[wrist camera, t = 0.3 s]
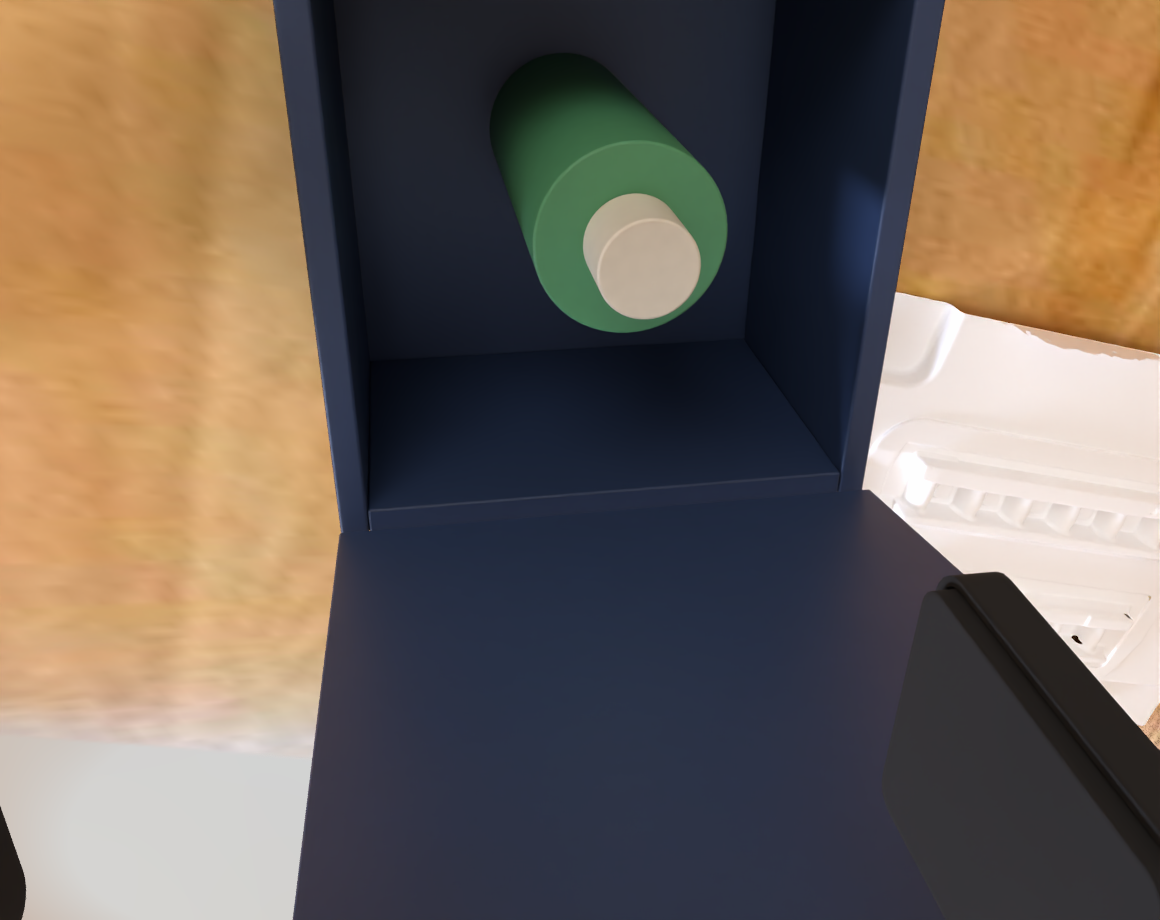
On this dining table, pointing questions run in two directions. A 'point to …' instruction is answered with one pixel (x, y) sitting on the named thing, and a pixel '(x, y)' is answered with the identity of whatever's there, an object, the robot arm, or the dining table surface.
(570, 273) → the bottle
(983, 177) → the dining table surface
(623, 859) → the navy door with handle
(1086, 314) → the dining table surface
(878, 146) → the navy storage box
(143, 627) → the dining table surface
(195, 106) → the dining table surface
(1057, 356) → the tray
